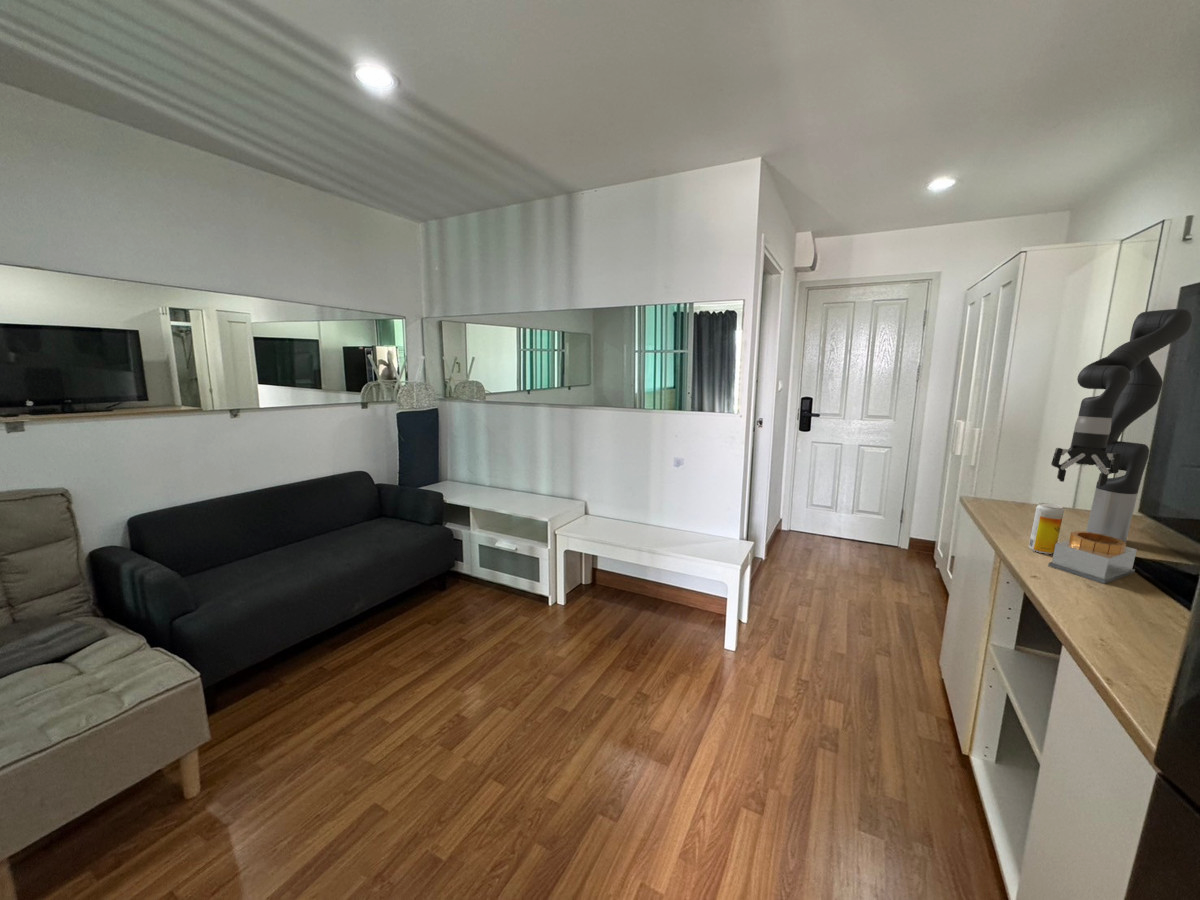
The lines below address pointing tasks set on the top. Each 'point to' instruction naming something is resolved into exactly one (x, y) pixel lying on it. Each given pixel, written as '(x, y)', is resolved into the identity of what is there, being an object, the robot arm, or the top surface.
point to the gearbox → (1094, 557)
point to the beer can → (1046, 528)
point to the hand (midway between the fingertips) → (1080, 483)
